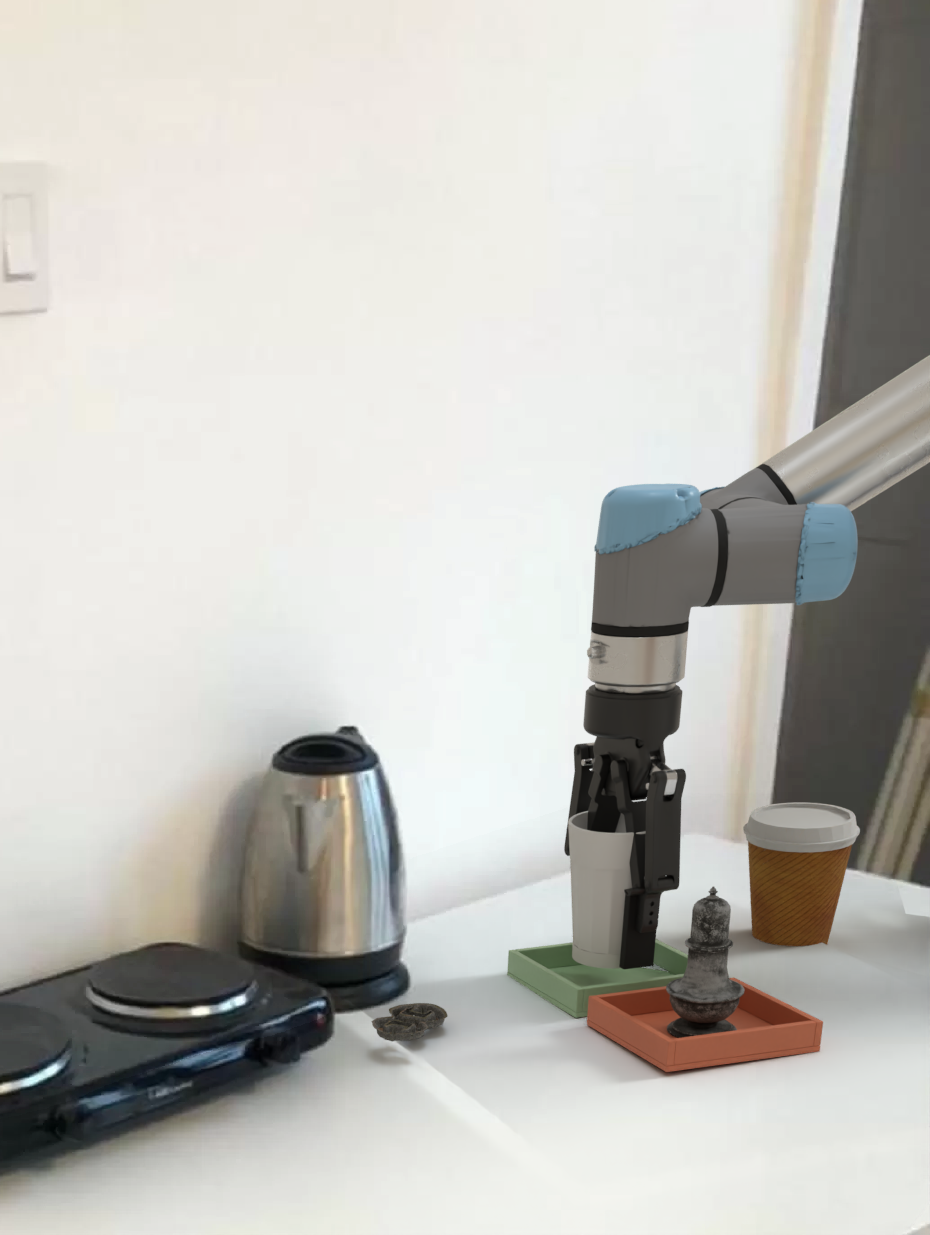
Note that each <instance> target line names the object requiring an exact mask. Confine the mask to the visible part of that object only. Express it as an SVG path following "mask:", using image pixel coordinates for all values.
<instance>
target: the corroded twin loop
mask: <svg viewBox="0 0 930 1235" xmlns="http://www.w3.org/2000/svg"><path fill="white" fill-rule="evenodd" d="M388 1012H389V1014H390V1015H391V1016H379V1017H376V1018H375V1019H372V1020H371V1023H372V1027H373V1028H374V1029H375V1030H376V1034H377V1035H378V1037H380V1038H381V1039H384V1040H385V1041H390V1042H391V1043H392V1042H397V1041H399V1042H400V1041H408V1040H410V1041H411V1040H417V1039H420V1038H422V1037H424V1035H425V1031H426V1030H431V1029H434V1028H440V1027H441V1026H443V1025H444V1022H445V1019H446V1018H448V1013H447V1011H446V1009H445V1008H443V1007H441V1006H439V1005H437V1004H434V1003H428V1002H415V1003H414V1002H413V1003H405V1004H398V1005H395V1006H394V1005H393V1006H392V1007H389V1008H388Z"/></svg>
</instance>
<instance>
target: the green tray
mask: <svg viewBox="0 0 930 1235" xmlns="http://www.w3.org/2000/svg"><path fill="white" fill-rule="evenodd" d="M572 945H573V941H572V942H565V943H557V944H547V945H539V946H531V947H524V948H517V949H508V956H507V973H506V975H507V976H508V977H510V978H511V979H513V980H514V981H516V982H517V983H518V984H520V985H522V986H524V987H525V988H526V989H528V990H530V991H531V992H533V993H534V994H536V995H538V996H539V997H541V998H542V999H544V1000H545V1001H547V1002H549V1003H550V1004H552V1005H553V1006H555V1007H557V1008H558V1009H560V1010H561V1011H563V1012H564V1013H567V1014H568V1015H569V1016H571V1017H573V1018H575V1019H577V1018H587V1013H588V1000H589V996H594V995H595V996H596V995H602V994H609V993H617V992H625V991H633V990H641V989H649V988H656V987H664V986H667V984H669V983H670V982H671V981H673V980H675V979H679V978H682V977H683V976H684V973H685V971H686V968H687V961H688V953H685V952H683V951H681V950H679V949H677V948H675V947H674V946H671V945H669V944H667V943H666V942H663V941H661V940H659V939H657V938H656V941H655V952H654V963H653V965H656V966H658V967H659V968H661V969H663V970H661V969H654V968H648V967H640V968H632V969H622V968H614V969H610V968H597V967H591V966H586V965H583V964H580V963H578V962H576V961H575V960H574V959H573V958H572Z"/></svg>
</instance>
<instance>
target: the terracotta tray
mask: <svg viewBox="0 0 930 1235" xmlns="http://www.w3.org/2000/svg"><path fill="white" fill-rule="evenodd" d="M729 979H730V980H733V981H735V982H738V983H739V984H741V985H742V986H743V988H744V989H745V991H744V994H743V995H742V996H741V997H740V998H739V1004H738V1006H737V1008H736V1009H735V1011H734V1012H733V1013H732V1014H731V1015H730V1016H729V1017H727V1018H726V1019H725V1020H727V1021H728V1022H730V1023H731V1024H733V1025H734V1026H735V1027H736V1029H737V1030H735V1031H727V1032H720V1033H712V1034H705V1035H697V1036H690V1037H682V1038H676V1037H674V1036H672V1035H671V1034H669V1033H668V1031H667V1026H668V1024H670V1023H671V1022H672V1021H675V1020H676V1019H678V1018H680V1016H679V1015H678V1014H677V1013H676V1012H675V1011H674V1010H673V1008H672V1005H671V1003H670V1000H669V998H670V994H668V992H667V991H666V986H664V987H656V988H649V989H641V990H633V991H625V992H617V993H609V994H602V995H596V996H595V995H594V996H589V1000H588V1013H587V1016H586V1025H587V1026H588V1027H590V1028H592V1029H593V1030H595V1031H597V1032H598V1033H600V1034H602V1035H604V1036H605V1037H607V1038H608V1039H610V1040H612V1041H613V1042H615V1043H617V1044H618V1045H620V1046H622V1047H623V1048H625V1049H626V1050H629V1051H630V1052H632V1053H633V1054H635V1055H637V1056H639V1057H640V1058H641V1059H643V1060H645V1061H647V1062H648V1063H650V1064H652V1065H653V1066H655V1067H657V1068H659V1069H660V1070H662V1071H664V1072H665V1073H670V1072H678V1071H684V1070H691V1069H700V1068H708V1067H714V1066H721V1065H730V1064H735V1063H737V1064H738V1063H744V1062H751V1061H758V1060H765V1059H773V1058H780V1057H787V1056H788V1057H789V1056H794V1055H795V1056H796V1055H802V1054H811V1053H817V1052H820V1050H821V1043H822V1035H823V1027H824V1021H823V1020H822V1019H819V1018H817V1017H815V1016H814V1015H811V1014H809V1013H807V1012H805V1011H804V1010H803V1011H802V1010H801V1009H799V1008H797V1007H794V1006H793V1005H791V1004H788V1003H786V1002H784V1001H783V1000H781V999H779V998H776V997H774V996H772V995H770V994H768V993H766V992H765V991H762V990H761V989H758V988H756V987H754V986H752V985H750V984H749V983H746V982H744V981H742V980H741V979H738V978H736V977H729Z"/></svg>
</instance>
